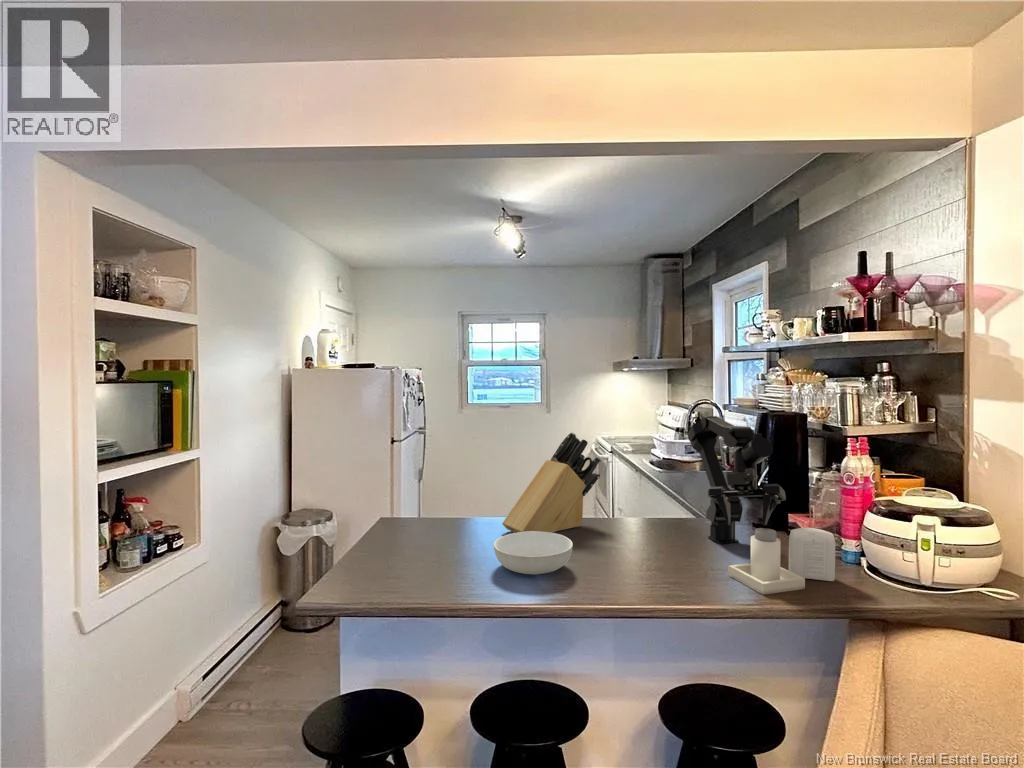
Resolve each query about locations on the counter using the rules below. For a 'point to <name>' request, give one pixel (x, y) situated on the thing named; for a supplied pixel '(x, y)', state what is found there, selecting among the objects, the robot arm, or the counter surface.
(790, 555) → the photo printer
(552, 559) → the serving bowl
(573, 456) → the knife block
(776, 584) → the cream tray
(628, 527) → the counter surface
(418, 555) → the counter surface
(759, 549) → the white bottle
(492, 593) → the counter surface
